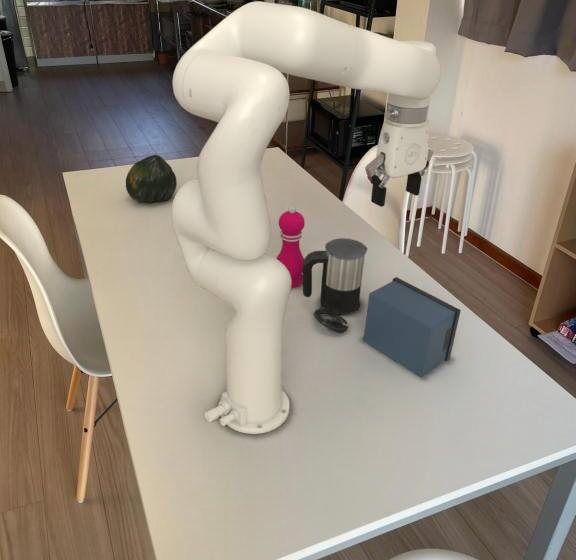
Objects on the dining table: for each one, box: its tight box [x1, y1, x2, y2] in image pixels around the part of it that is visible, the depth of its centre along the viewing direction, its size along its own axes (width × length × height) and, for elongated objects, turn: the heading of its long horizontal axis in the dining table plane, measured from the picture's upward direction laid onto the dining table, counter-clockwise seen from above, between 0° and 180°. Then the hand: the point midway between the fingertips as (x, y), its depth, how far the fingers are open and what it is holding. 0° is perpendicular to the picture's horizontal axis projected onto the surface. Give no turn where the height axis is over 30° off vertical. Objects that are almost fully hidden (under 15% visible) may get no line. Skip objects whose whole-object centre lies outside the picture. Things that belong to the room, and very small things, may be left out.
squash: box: [125, 154, 178, 203], centre depth 177 cm, size 14×15×15 cm
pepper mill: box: [276, 205, 306, 289], centre depth 136 cm, size 7×7×20 cm
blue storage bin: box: [363, 276, 462, 378], centre depth 116 cm, size 9×16×12 cm, turn 42°
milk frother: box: [302, 237, 368, 333], centre depth 126 cm, size 14×16×15 cm
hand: (395, 198), depth 116 cm, fingers open, 9 cm apart
